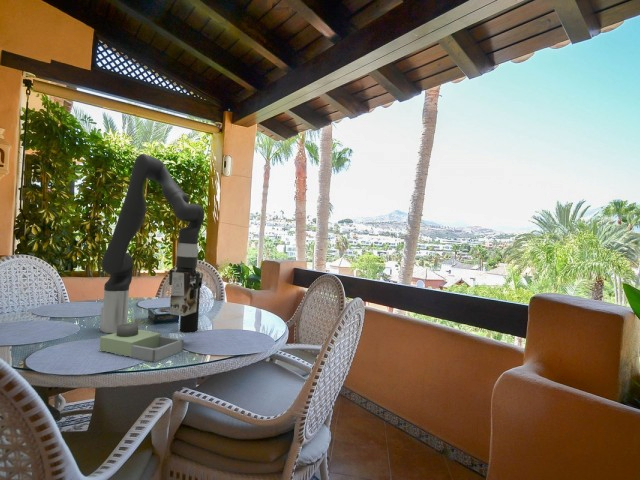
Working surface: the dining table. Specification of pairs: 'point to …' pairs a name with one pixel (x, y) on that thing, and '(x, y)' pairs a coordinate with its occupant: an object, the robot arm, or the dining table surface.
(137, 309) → the dining table surface
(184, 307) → the coffee box
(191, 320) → the wine bottle
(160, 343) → the green and grey tray
